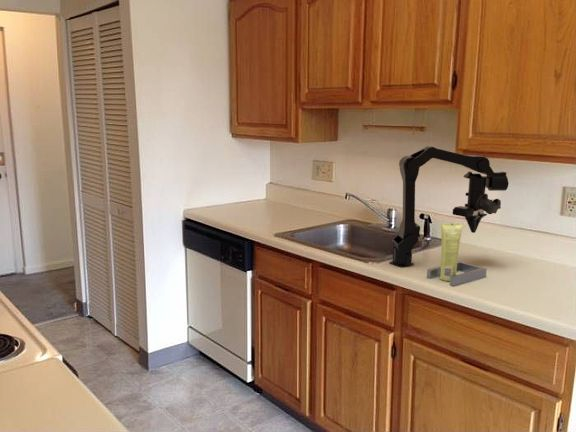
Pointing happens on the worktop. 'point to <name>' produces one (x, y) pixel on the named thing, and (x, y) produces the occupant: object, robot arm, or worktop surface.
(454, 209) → the robot arm
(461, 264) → the u collar
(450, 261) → the tube
